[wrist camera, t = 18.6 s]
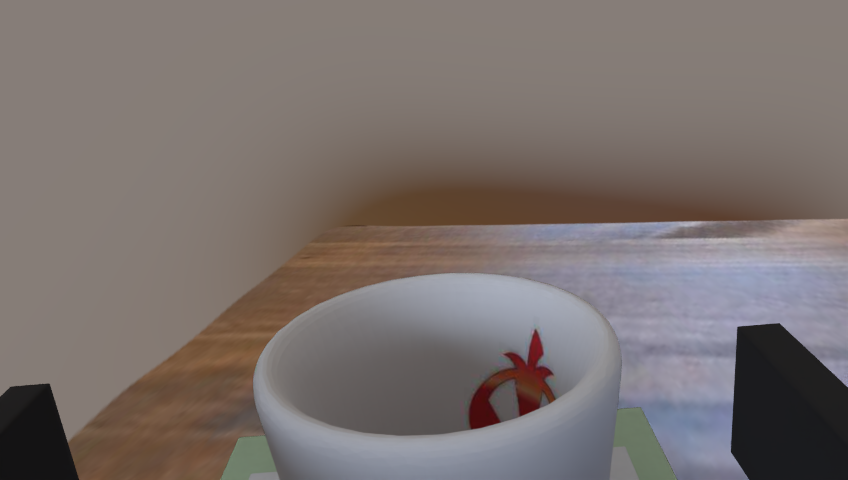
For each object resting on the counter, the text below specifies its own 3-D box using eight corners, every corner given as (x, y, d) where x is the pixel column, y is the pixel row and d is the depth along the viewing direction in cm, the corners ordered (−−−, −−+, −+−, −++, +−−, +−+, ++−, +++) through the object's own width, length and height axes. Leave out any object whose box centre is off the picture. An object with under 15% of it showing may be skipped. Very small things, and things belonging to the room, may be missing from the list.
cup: (216, 550, 21) (158, 308, 19) (426, 439, 26) (403, 230, 23) (433, 873, 13) (383, 516, 10) (692, 627, 17) (702, 331, 15)
